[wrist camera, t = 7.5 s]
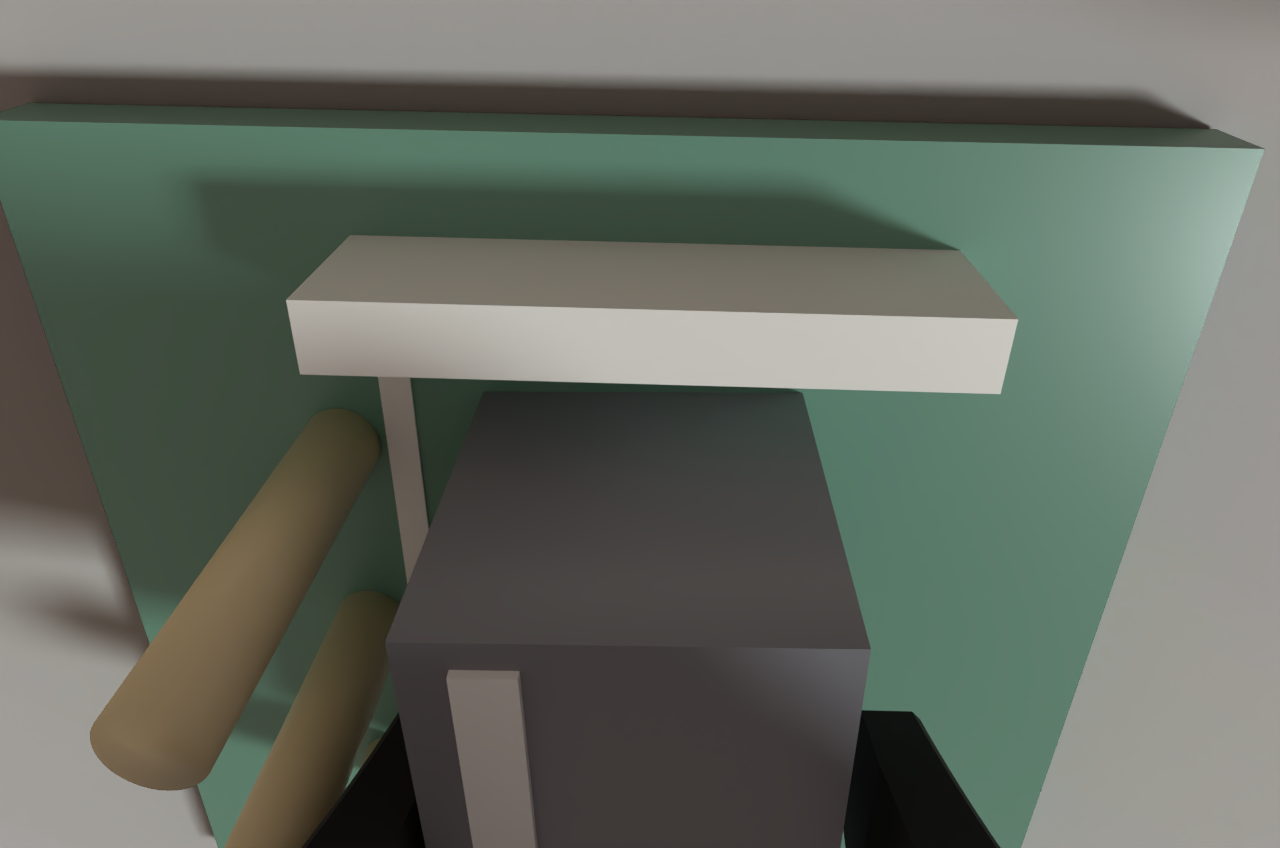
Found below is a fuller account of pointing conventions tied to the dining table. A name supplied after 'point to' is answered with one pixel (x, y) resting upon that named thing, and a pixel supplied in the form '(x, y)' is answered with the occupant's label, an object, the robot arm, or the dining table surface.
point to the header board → (601, 383)
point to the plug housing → (632, 629)
